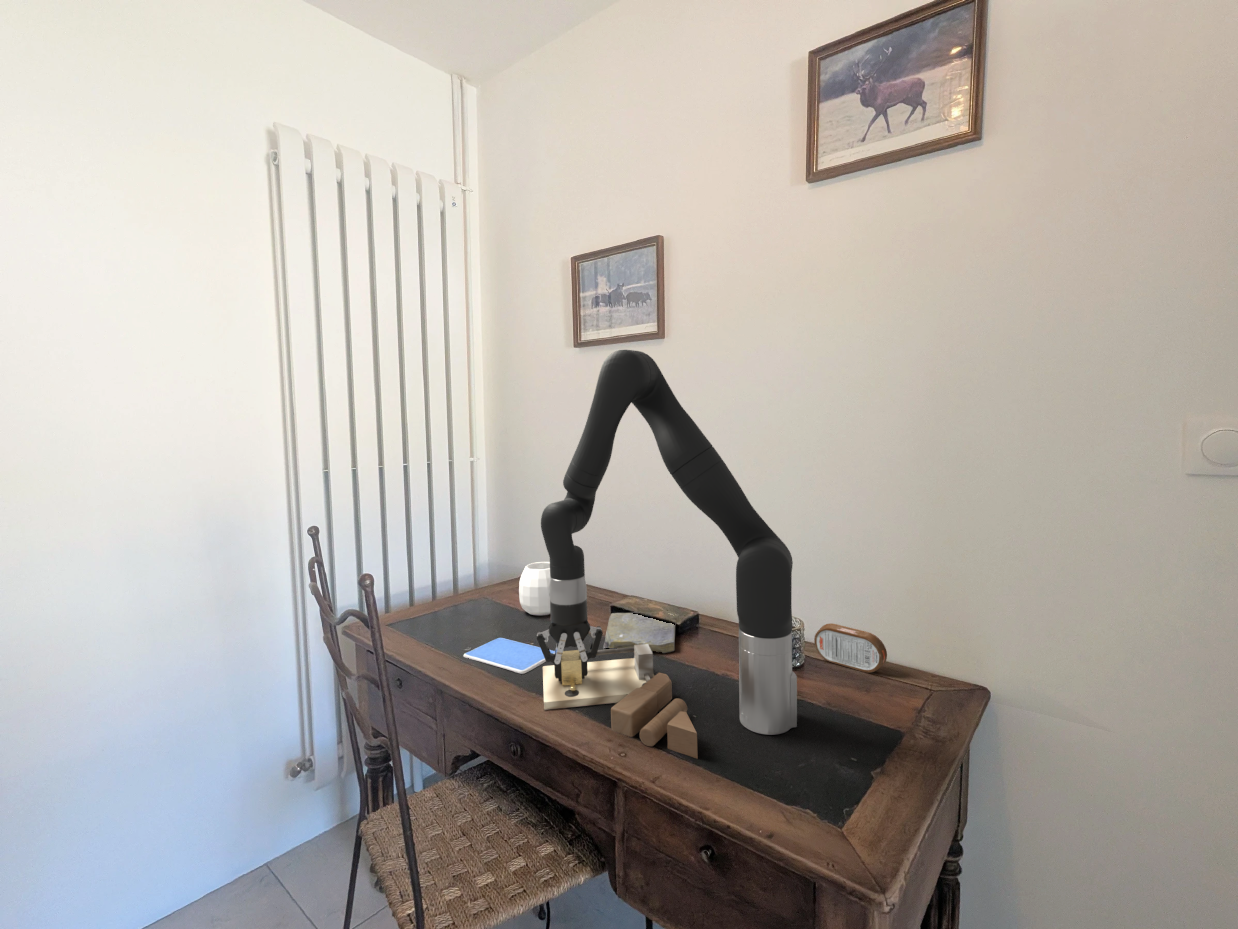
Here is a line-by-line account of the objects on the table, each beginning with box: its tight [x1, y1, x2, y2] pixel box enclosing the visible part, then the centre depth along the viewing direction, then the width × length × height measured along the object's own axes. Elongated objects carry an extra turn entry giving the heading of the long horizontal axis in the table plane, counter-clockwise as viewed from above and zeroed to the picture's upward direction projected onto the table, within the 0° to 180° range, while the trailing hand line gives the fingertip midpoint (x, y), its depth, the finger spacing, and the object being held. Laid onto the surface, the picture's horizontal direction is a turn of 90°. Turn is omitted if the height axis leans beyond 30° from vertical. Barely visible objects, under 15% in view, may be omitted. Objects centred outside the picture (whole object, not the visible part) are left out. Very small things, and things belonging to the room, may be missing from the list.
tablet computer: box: [463, 637, 555, 675], centre depth 135 cm, size 19×13×1 cm, turn 57°
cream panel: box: [542, 644, 655, 711], centre depth 118 cm, size 23×16×7 cm
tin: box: [814, 623, 888, 673], centre depth 124 cm, size 15×3×8 cm, turn 47°
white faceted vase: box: [518, 561, 551, 616], centre depth 164 cm, size 13×13×14 cm
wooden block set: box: [610, 672, 699, 760], centre depth 103 cm, size 17×6×18 cm
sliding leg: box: [561, 649, 582, 692], centre depth 116 cm, size 4×8×5 cm, turn 8°
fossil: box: [603, 612, 676, 654], centre depth 143 cm, size 20×5×17 cm
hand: (571, 678), depth 118 cm, fingers closed on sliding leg, 4 cm apart
